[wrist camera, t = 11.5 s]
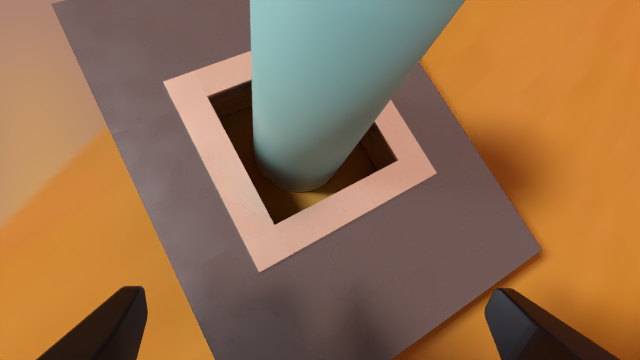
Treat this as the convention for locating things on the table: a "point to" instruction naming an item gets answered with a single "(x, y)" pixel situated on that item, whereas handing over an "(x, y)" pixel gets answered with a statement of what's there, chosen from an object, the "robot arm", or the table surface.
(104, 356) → the robot arm
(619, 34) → the table surface
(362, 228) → the flange plate
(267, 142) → the teal peg
